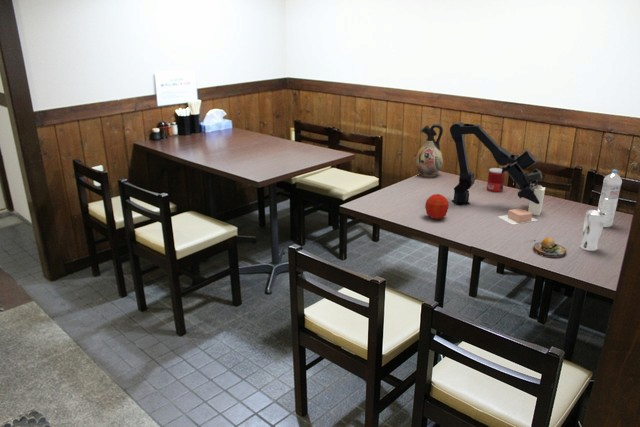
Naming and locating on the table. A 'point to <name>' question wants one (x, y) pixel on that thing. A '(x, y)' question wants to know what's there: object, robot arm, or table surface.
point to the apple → (437, 206)
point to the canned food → (495, 180)
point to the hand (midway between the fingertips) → (539, 201)
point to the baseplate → (513, 220)
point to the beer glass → (592, 229)
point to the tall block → (539, 193)
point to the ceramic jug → (430, 153)
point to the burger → (549, 249)
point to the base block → (519, 215)
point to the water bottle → (610, 197)
